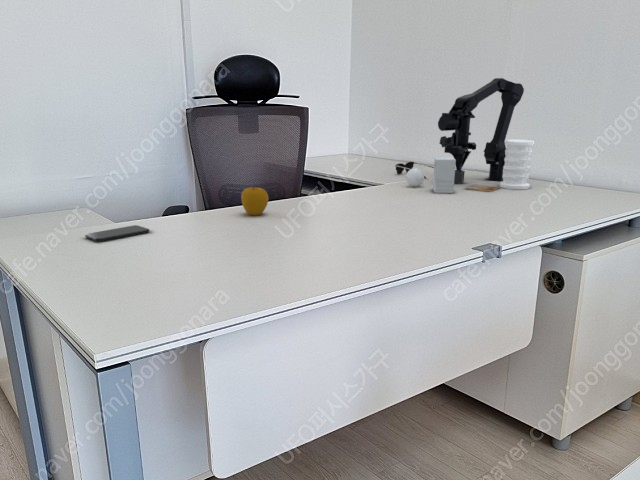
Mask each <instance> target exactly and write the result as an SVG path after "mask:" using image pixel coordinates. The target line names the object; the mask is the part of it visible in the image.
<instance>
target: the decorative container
mask: <svg viewBox="0 0 640 480" xmlns="http://www.w3.org/2000/svg"><path fill="white" fill-rule="evenodd" d="M534 145H535V141H534V140H531V139H530V140H529V139H516V138H515V139H505V146H506V150H505V155H506V157H505V159H504V161H505V165H504V167H503V168H504V169H503V180H502V181H499V188H502V189H506V190H507V189H508V190H529V189H530V187H531V183H528V182H529V178H530V171H531V166H530V164H531V162H532V157H531V156H532V153H533V149H532V148H533V146H534Z"/></svg>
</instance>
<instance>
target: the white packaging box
mask: <svg viewBox="0 0 640 480" xmlns="http://www.w3.org/2000/svg"><path fill="white" fill-rule="evenodd" d="M433 162H434V164H433V167H434V168H433V178H432V180H433V181H432V190H433V193H434V194H453V193H454V188H455V184H454V177H455V170H456V165H455V164H456V160H455V159H454V157H453V156H452V157H451V156H444V157H443V156H440V157H439V156H435V157H434V161H433Z"/></svg>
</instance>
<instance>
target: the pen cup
mask: <svg viewBox="0 0 640 480" xmlns="http://www.w3.org/2000/svg"><path fill="white" fill-rule="evenodd" d="M464 183H465V170H464V169H461V172H457V171H456V169H455V177H454V185H462V184H464Z"/></svg>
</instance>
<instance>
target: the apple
mask: <svg viewBox="0 0 640 480" xmlns="http://www.w3.org/2000/svg"><path fill="white" fill-rule="evenodd" d="M240 197H241V198H240V199H241V204H242V207H243V209H244V211H245V212H246V213H247V215H249V216H254V217H255V216H260V215H262V214H263V213H264V211H265V210H266V208H267V206H268V204H269V199H270V197H269V194H268V192H267V191H266V189H264V188H262V187H255V186H252V187H251V186H249V187H246V188H244V189H243V190H242V191H241V194H240Z"/></svg>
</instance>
